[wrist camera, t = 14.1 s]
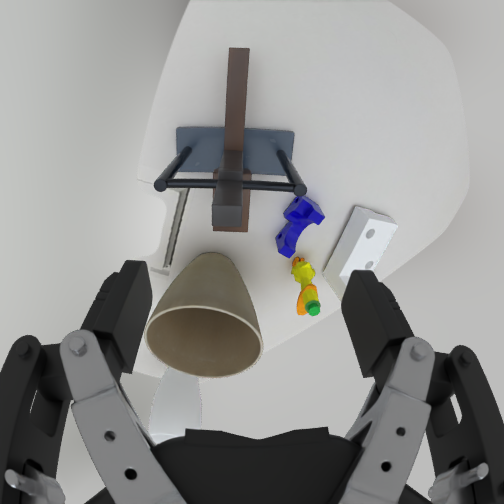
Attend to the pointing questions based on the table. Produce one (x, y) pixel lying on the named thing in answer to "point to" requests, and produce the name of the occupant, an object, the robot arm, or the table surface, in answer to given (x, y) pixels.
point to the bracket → (358, 247)
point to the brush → (233, 152)
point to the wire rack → (254, 158)
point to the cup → (175, 406)
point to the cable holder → (297, 223)
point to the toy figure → (305, 288)
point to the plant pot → (206, 321)
